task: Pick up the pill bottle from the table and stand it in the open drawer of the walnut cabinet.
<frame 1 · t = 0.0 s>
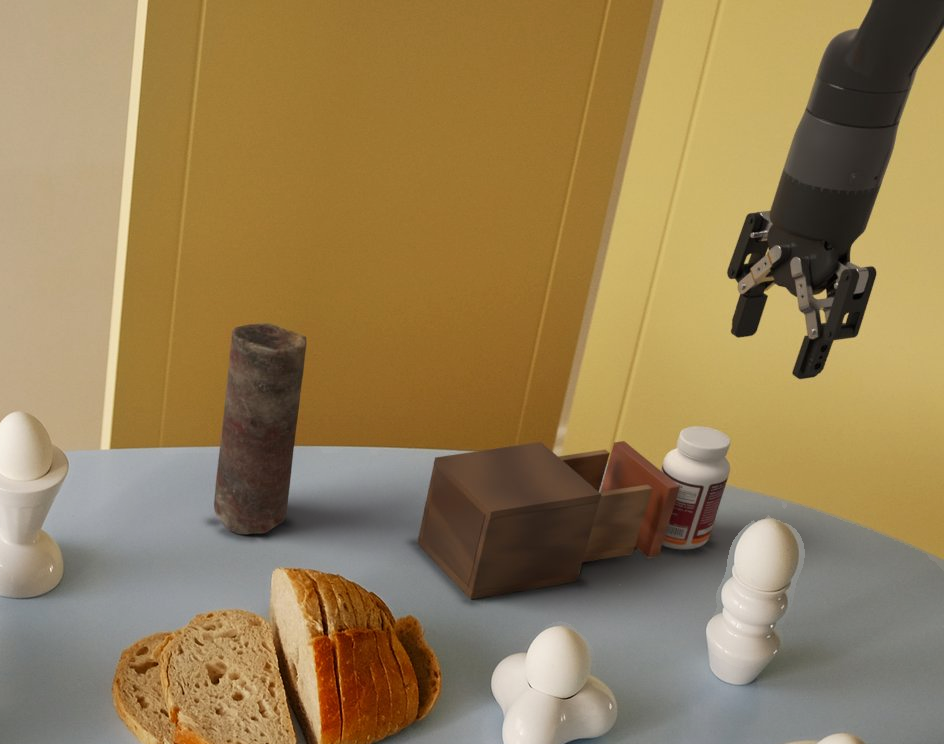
hand: (772, 355, 153), 24 cm above the table, tool pointing down, fingers open, 8 cm apart
pill bottle: (674, 537, 177), on the table
brown clay vase: (247, 519, 179), on the table
cabinet: (495, 562, 172), on the table
drawer: (600, 504, 172), point 5 cm above the table, slide at 8.0 cm
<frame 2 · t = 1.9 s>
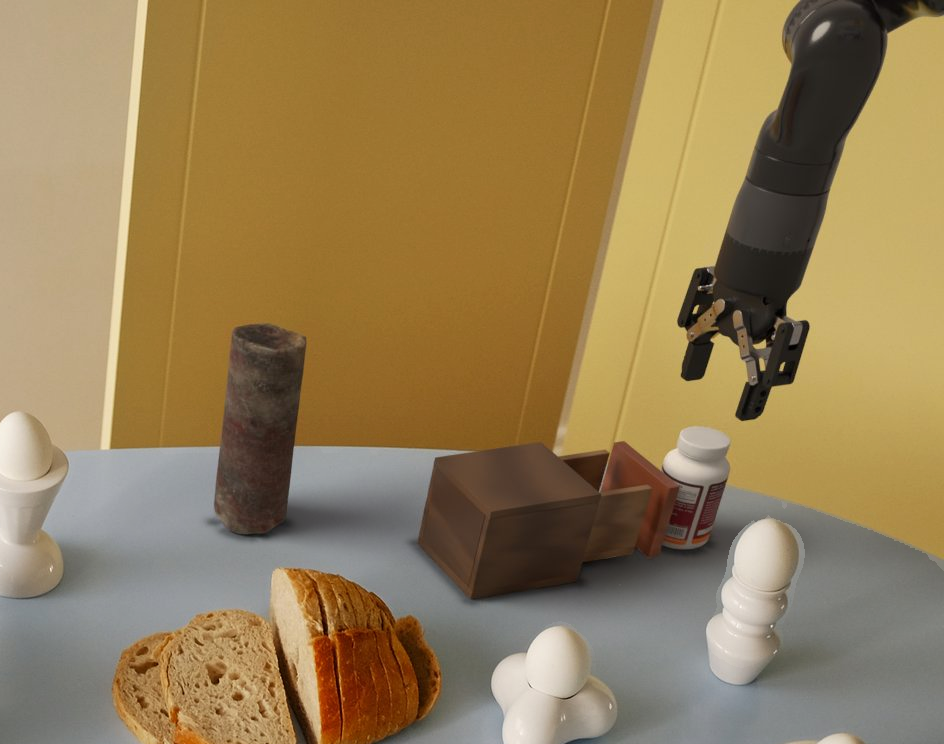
hand: (718, 398, 167), 15 cm above the table, tool pointing down, fingers open, 8 cm apart
nothing on the table moved.
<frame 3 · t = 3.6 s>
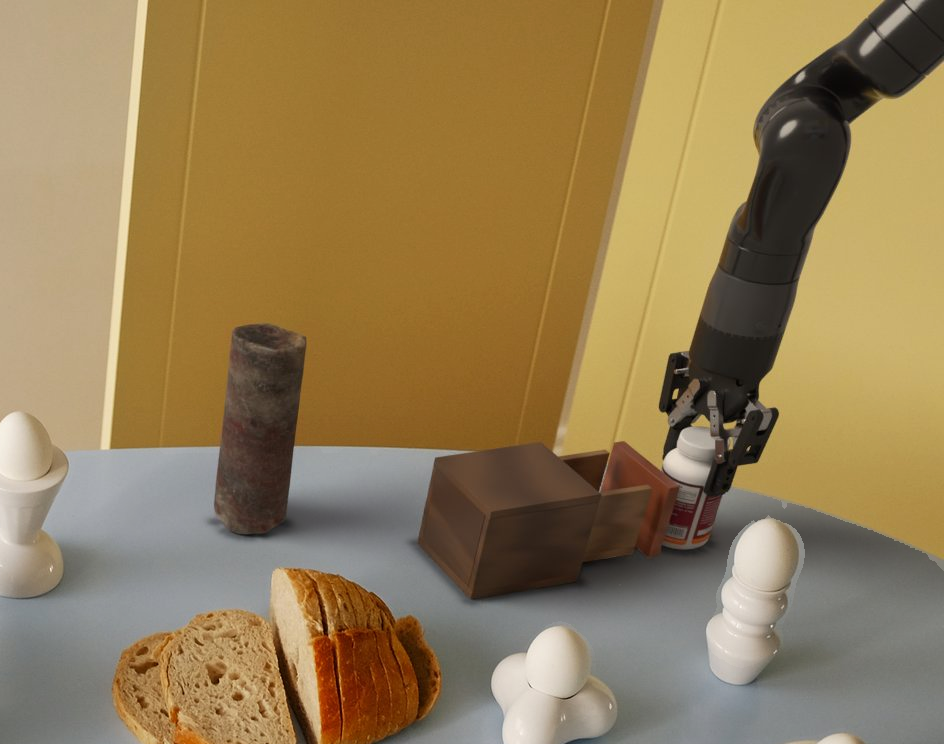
hand: (693, 476, 172), 7 cm above the table, tool pointing down, fingers closed on pill bottle, 6 cm apart
pill bottle: (674, 537, 177), on the table, touching gripper
everything else where it was.
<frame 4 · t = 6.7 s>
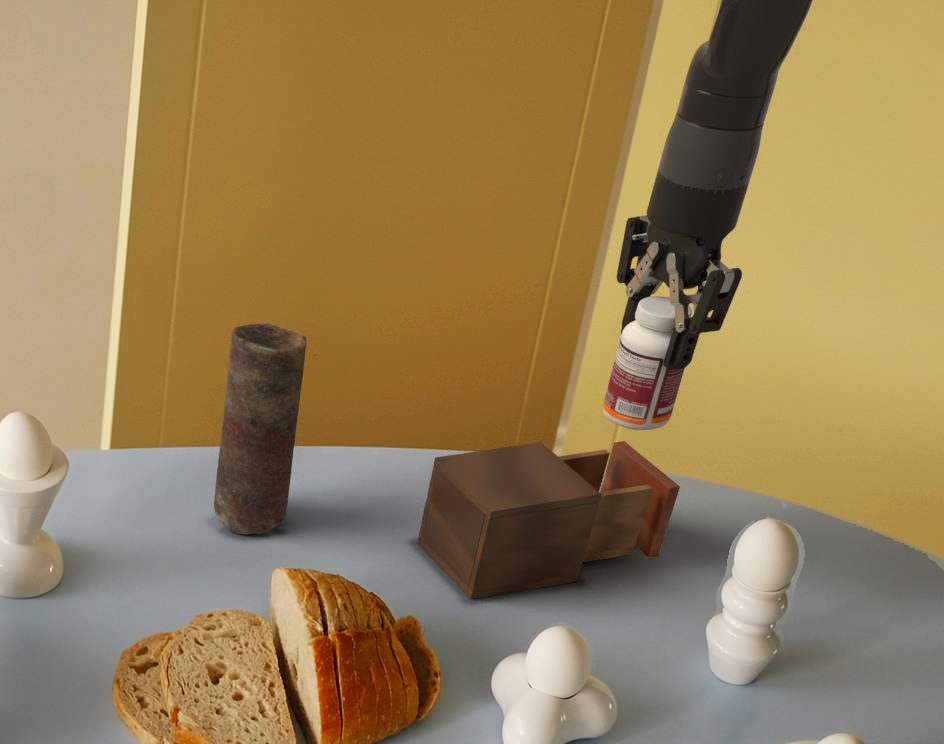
hand: (652, 351, 162), 21 cm above the table, tool pointing down, fingers closed on pill bottle, 6 cm apart
pill bottle: (633, 419, 166), point 14 cm above the table, touching gripper
everything else where it was.
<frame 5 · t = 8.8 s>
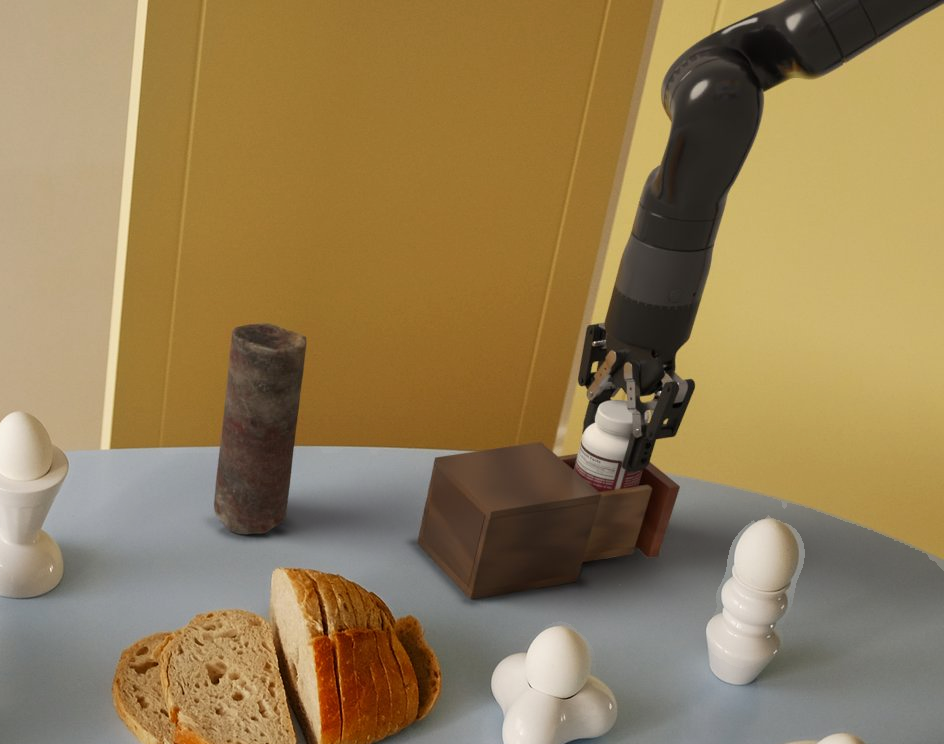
hand: (612, 452, 168), 11 cm above the table, tool pointing down, fingers closed on pill bottle, 6 cm apart
pill bottle: (595, 515, 172), point 4 cm above the table, touching gripper
everything else where it was.
when the fingers open (9 cm above the table, at t = 10.0 s): pill bottle stays where it is, resting on drawer.
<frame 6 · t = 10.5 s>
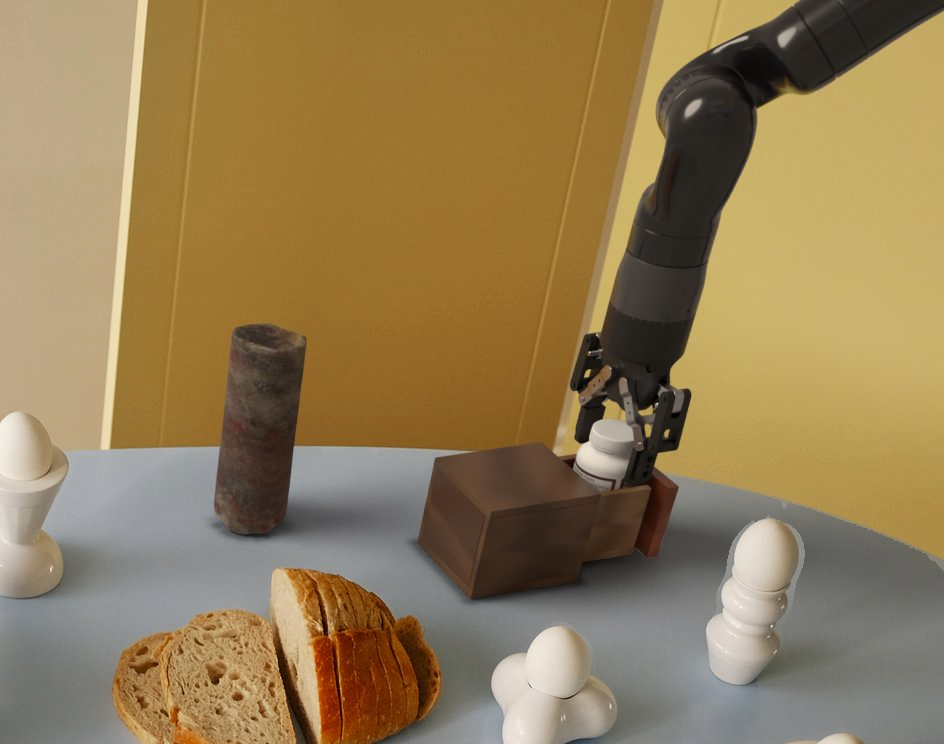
hand: (609, 461, 169), 10 cm above the table, tool pointing down, fingers open, 8 cm apart
pill bottle: (590, 532, 173), point 2 cm above the table, touching drawer
drawer: (599, 505, 172), point 5 cm above the table, slide at 7.9 cm, touching pill bottle
everything else where it was.
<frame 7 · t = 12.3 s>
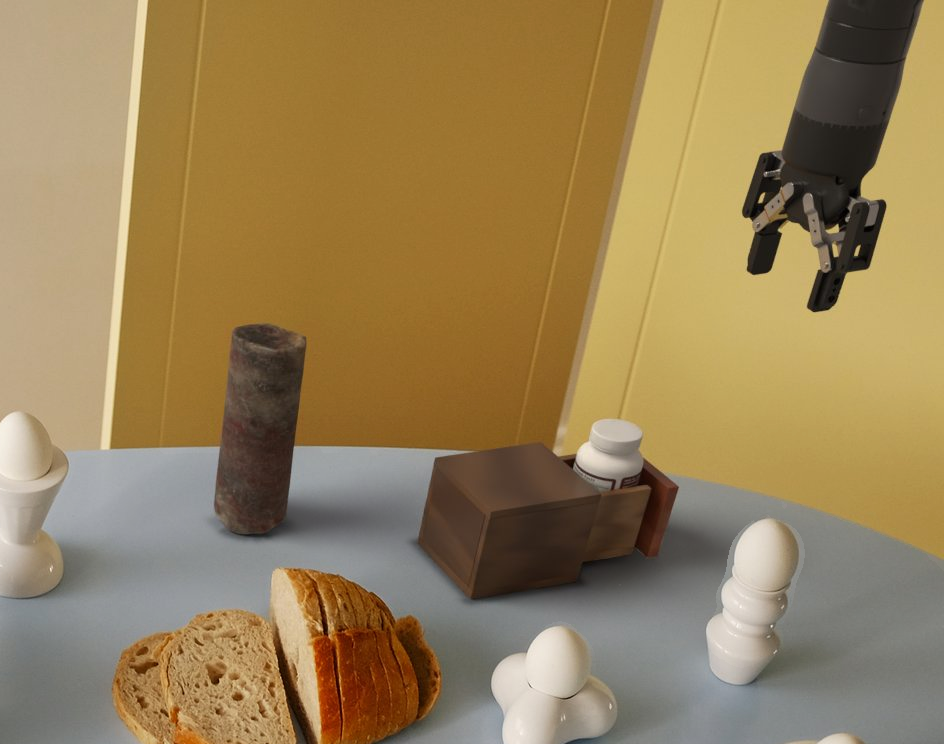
hand: (787, 290, 158), 27 cm above the table, tool pointing down, fingers open, 8 cm apart
nothing on the table moved.
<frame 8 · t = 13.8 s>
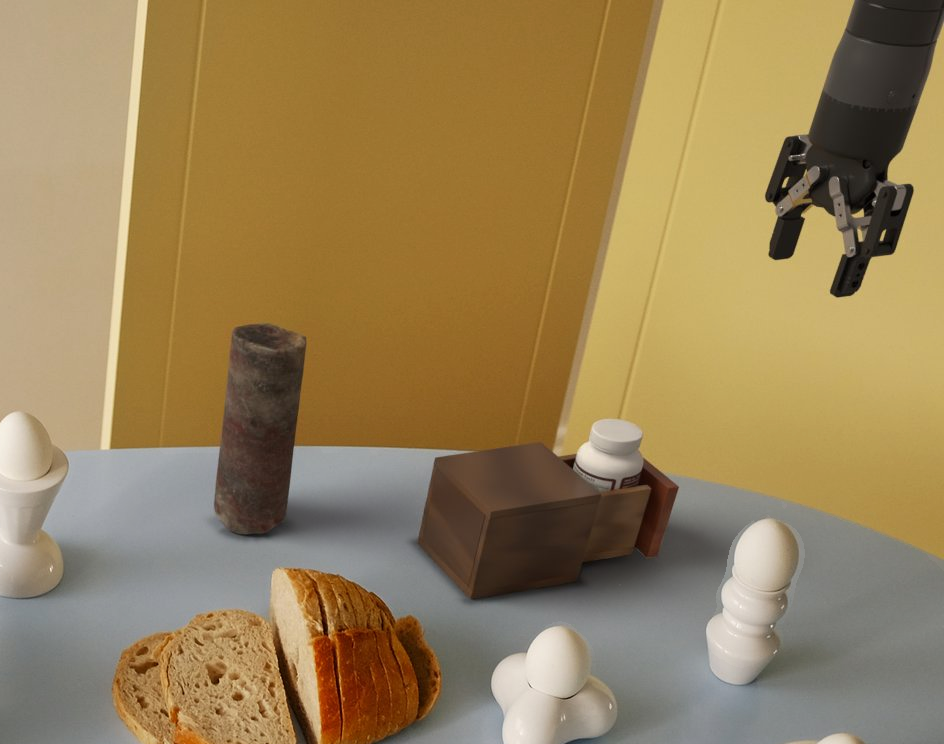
hand: (809, 276, 157), 28 cm above the table, tool pointing down, fingers open, 8 cm apart
nothing on the table moved.
at the end: pill bottle inside the target area in the drawer (0.3 cm from its centre), point 1.8 cm above the cabinet's base; pill bottle tilted 0°; drawer slide at 7.9 cm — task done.
